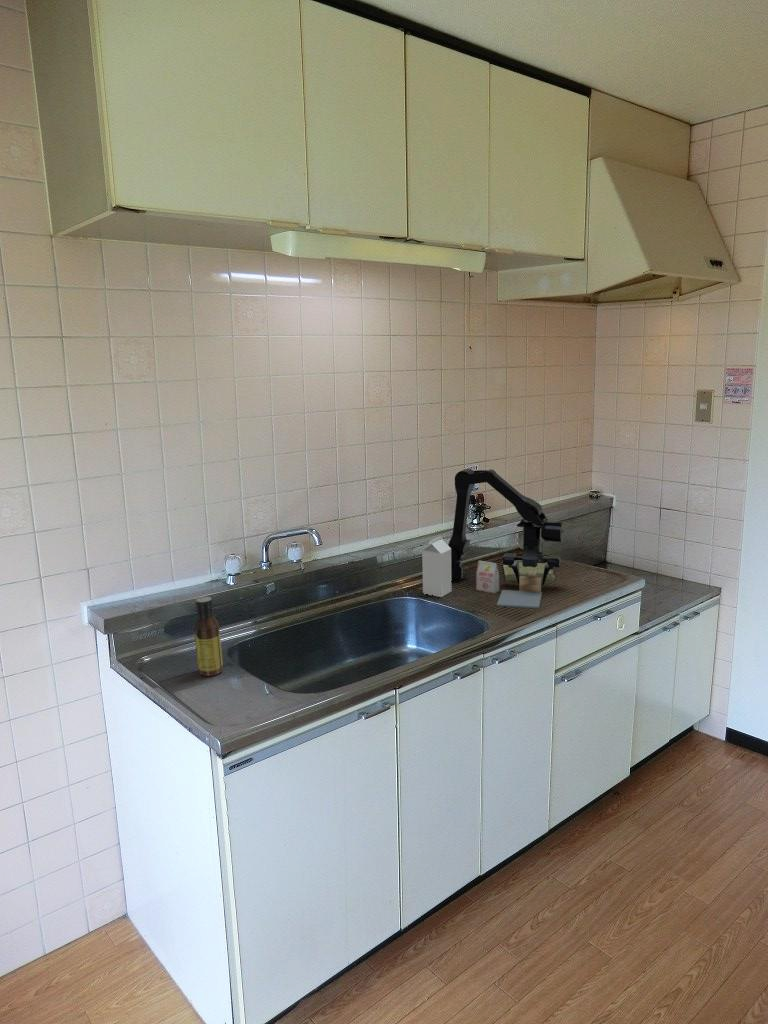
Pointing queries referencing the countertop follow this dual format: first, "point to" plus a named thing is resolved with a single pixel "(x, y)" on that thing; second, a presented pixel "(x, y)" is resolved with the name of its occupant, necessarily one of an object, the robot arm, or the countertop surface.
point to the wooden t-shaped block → (530, 582)
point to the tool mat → (520, 599)
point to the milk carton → (437, 568)
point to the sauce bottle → (207, 639)
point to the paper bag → (487, 577)
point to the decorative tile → (527, 571)
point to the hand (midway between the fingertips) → (531, 584)
